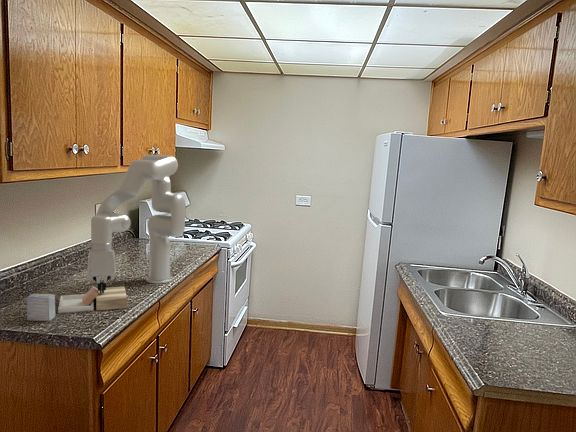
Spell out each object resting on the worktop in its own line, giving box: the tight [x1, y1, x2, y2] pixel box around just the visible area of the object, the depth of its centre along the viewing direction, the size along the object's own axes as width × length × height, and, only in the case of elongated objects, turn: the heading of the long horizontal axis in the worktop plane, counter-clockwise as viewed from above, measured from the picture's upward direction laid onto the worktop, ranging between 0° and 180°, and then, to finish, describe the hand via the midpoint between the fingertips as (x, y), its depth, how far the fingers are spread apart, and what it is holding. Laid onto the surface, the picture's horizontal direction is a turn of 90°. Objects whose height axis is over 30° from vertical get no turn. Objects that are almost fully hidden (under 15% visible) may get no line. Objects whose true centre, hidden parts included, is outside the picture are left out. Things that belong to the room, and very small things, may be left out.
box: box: [57, 293, 95, 315], centre depth 173 cm, size 16×12×2 cm
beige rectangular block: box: [95, 286, 128, 311], centre depth 177 cm, size 16×11×4 cm
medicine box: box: [26, 293, 56, 322], centre depth 157 cm, size 8×4×9 cm, turn 92°
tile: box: [82, 285, 99, 306], centre depth 174 cm, size 6×6×2 cm
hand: (101, 292), depth 176 cm, fingers closed
